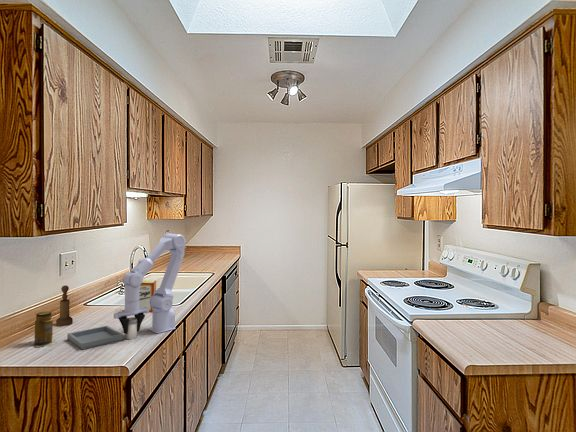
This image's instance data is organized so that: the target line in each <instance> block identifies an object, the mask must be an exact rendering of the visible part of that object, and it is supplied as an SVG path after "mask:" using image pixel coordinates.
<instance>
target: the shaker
mask: <svg viewBox="0 0 576 432" xmlns="http://www.w3.org/2000/svg"><path fill="white" fill-rule="evenodd" d="M127 318H128V319H129V322H128V334H125V339H126V340H134V339H136V338H137V337H138V332H137V318H136V317H135V316H132V317H127Z"/></svg>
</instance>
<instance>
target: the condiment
mask: <svg viewBox="0 0 576 432" xmlns="http://www.w3.org/2000/svg"><path fill="white" fill-rule="evenodd" d="M52 316H53V315H52V311H40V312H38V313H36V318H35V321H34V341H33V340H32V341H30V343H31V345H32V346H34V347H35V348H42V347H47V346H52V345H57V344H58V343H57V342H56V340H54V339H53V325H54V324H53V322H54V321H53V320H54V319H53V317H52Z"/></svg>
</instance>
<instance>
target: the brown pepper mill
mask: <svg viewBox="0 0 576 432" xmlns="http://www.w3.org/2000/svg"><path fill="white" fill-rule="evenodd" d="M69 289H70V288H69V286H68V285H62V286H61V289H60V290H61V292H62V295H61V298H62V299H60V300H59V317H58V318H57V319H56V320H55V326H56V327H66V326H67V327H68V326H71V325H72V324H73V323H74V322H73V320H74V319H73V317H71V315H70V299H68V295H69V294H68V292H69Z"/></svg>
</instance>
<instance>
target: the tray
mask: <svg viewBox="0 0 576 432" xmlns="http://www.w3.org/2000/svg"><path fill="white" fill-rule="evenodd" d="M67 341H68V342H70V343H71V344H73V345H74V346H76V347H77V348H79V350H81V351H83V350H87V349H92V348H97V347H101V346H104V345H109V344H113V343H118V342H121V341H124V333H122V332H119V330H116V329H114V328H113V327H110V326H109V325H103V326H98V327H93V328H88V329H84V330H78V331H74V332H69V333H67Z"/></svg>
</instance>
